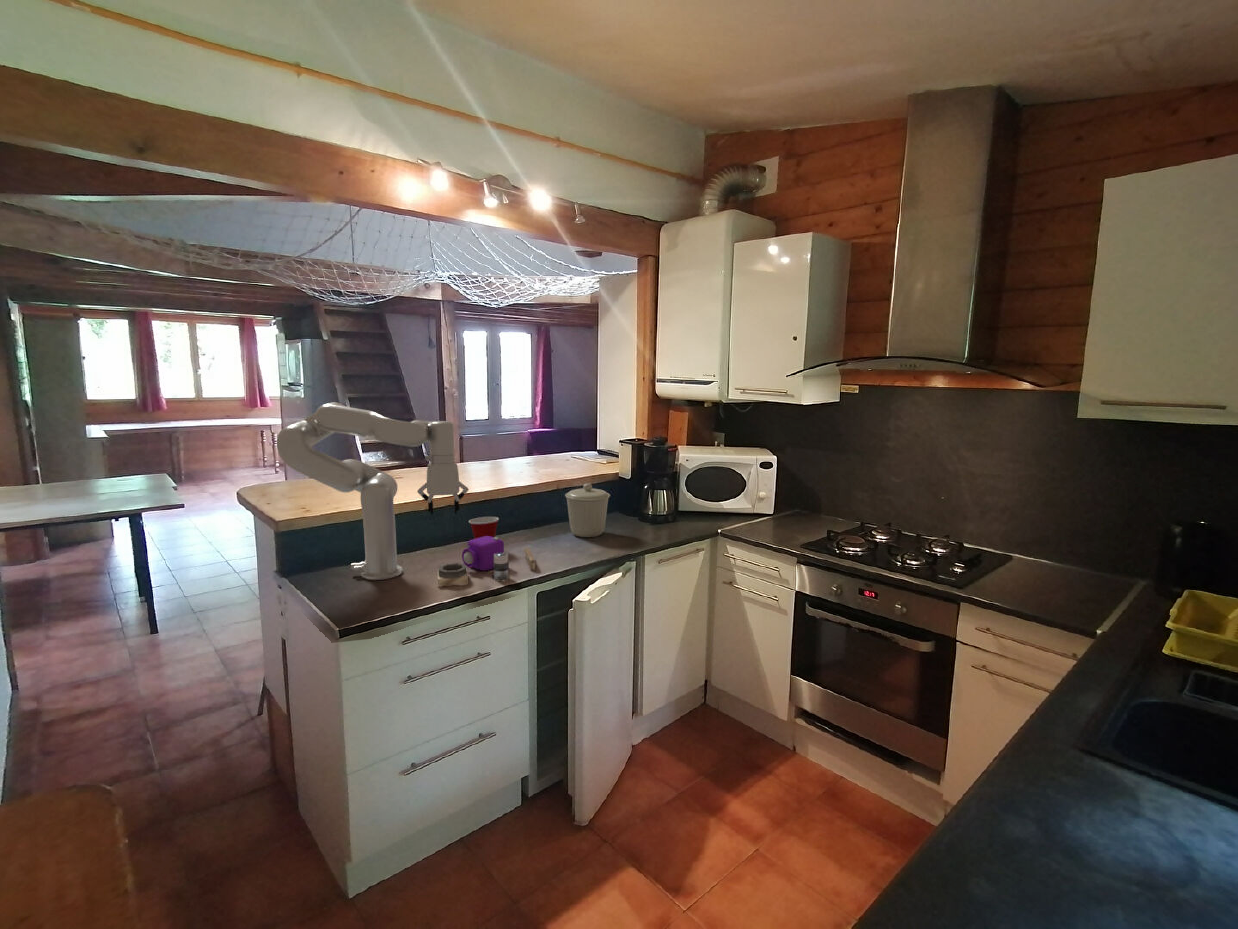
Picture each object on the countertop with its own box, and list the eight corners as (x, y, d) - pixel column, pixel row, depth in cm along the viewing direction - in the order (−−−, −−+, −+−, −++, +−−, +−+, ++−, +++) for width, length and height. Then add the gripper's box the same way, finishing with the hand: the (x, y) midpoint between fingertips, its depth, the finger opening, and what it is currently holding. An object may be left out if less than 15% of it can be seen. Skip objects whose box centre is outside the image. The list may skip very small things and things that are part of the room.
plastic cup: (484, 544, 232) (483, 513, 230) (505, 549, 226) (505, 517, 224) (463, 551, 223) (462, 519, 221) (484, 556, 217) (483, 524, 215)
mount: (438, 587, 187) (437, 573, 186) (438, 577, 195) (437, 564, 195) (468, 584, 189) (467, 570, 189) (466, 575, 198) (466, 561, 197)
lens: (494, 581, 192) (493, 557, 191) (493, 576, 197) (492, 552, 195) (509, 580, 194) (509, 556, 192) (508, 575, 198) (507, 551, 197)
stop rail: (530, 570, 203) (530, 560, 203) (525, 557, 217) (524, 548, 216) (535, 570, 204) (535, 560, 203) (529, 557, 217) (529, 548, 216)
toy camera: (456, 570, 202) (455, 541, 201) (483, 559, 214) (482, 532, 212) (481, 576, 197) (481, 546, 196) (508, 564, 209) (507, 536, 208)
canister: (596, 526, 260) (596, 478, 257) (617, 536, 245) (618, 485, 241) (557, 531, 251) (557, 481, 247) (577, 542, 236) (577, 489, 232)
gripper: (413, 462, 190) (415, 517, 193) (470, 460, 195) (471, 514, 198) (414, 458, 197) (416, 511, 200) (469, 457, 202) (470, 509, 205)
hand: (443, 512), depth 199 cm, fingers open, 6 cm apart
